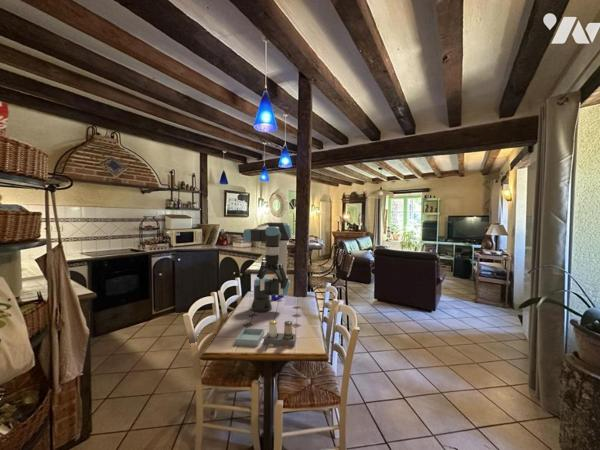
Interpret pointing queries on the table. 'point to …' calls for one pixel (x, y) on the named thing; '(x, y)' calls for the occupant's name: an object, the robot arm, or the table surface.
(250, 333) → the parts tray
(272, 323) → the fuse
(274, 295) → the cable clip
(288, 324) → the fuse
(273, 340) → the fuse block
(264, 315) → the table surface
